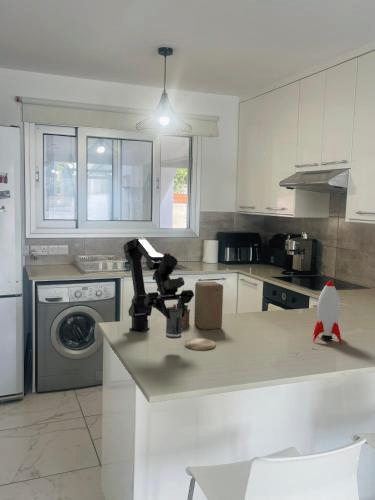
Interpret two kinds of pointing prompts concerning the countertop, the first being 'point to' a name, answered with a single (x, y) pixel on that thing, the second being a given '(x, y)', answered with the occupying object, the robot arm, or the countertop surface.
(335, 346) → the countertop surface
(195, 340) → the smooth tan round disc
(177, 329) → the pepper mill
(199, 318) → the wooden block
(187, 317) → the lighter
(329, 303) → the rocket
